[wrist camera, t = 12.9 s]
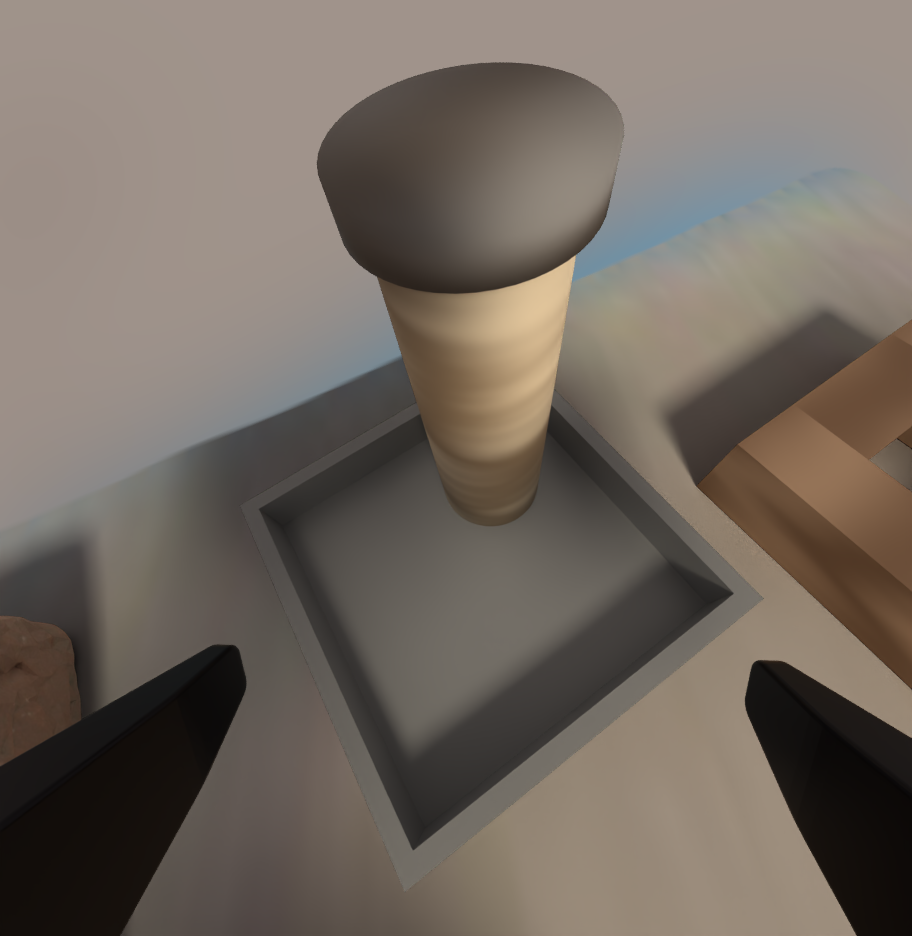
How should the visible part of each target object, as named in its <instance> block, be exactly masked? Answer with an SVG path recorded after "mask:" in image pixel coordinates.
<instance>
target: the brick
mask: <svg viewBox="0 0 912 936" xmlns="http://www.w3.org/2000/svg"><path fill="white" fill-rule="evenodd" d="M80 720H81V700H80V694H79V690H78V687H77V675H76V672H75V668H74V651H73V647H72V643H71V639H70V638H69V637H68V636H67V634H66V633H65V632H64V631H63V630H62V629H60V628H59V627H57V626H56V625H53V624H47V623H41V622H32V621H29V620H27V619H25V618H23V617H14V616H0V766H1V765H3V764H5V763H6V762H8V761H10V760H12V759H13V758H15V757H17V756H19V755H20V754H22V753H24V752H26V751H28V750H29V749H31V748H33V747H35V746H36V745H38V744H40V743H42V742H43V741H45V740H47V739H49V738H50V737H52V736H54V735H56V734H57V733H59V732H61V731H63V730H64V729H66V728H68V727H70V726H71V725H73V724H75V723H77V722H78V721H80Z"/></svg>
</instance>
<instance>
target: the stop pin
mask: <svg viewBox="0 0 912 936" xmlns="http://www.w3.org/2000/svg"><path fill="white" fill-rule="evenodd" d="M623 138H624V124H623V120H622V116H621V113H620V111H619V109H618V107H617V105H616V104H615V103H614V102H613V101H612V99H611V98H610V97H609V96H608V95H607V94H606V93H605V92H604V91H603V90H601V89H600V88H599V87H597V86H596V85H594V84H592V83H591V82H589V81H587V80H585V79H583V78H581V77H579V76H576V75H574V74H571V73H568V72H565V71H562V70H559V69H554V68H550V67H546V66H539V65H533V64H522V63H478V64H469V65H461V66H455V67H449V68H444V69H439V70H435V71H431V72H427V73H424V74H420V75H417V76H414V77H411V78H408V79H405V80H403V81H400V82H397V83H395V84H393V85H390V86H388V87H386V88H384V89H382V90H380V91H378V92H376V93H374V94H372V95H371V96H369V97H367V98H366V99H364V100H362V101H361V102H359V103H358V104H356V105H355V106H354V107H353V108H351V109H350V110H349V111H347V112H346V113H345V114H344V115H343V116H342V117H341V118H340V119H339V120H338V121H337V122H336V123H335V124H334V125H333V127H332V128H331V129H330V131H329V132H328V133H327V135H326V137H325V138H324V140H323V142H322V144H321V147H320V150H319V153H318V160H317V169H318V176H319V178H320V181H321V184H322V187H323V189H324V192H325V195H326V197H327V200H328V203H329V206H330V208H331V211H332V214H333V217H334V219H335V222H336V224H337V228H338V230H339V233H340V236H341V238H342V241H343V244H344V246H345V248H346V249H347V251H348V252H349V254H350V255H351V256H352V257H353V259H354V260H355V261H356V262H357V263H358V264H359V265H360V266H362V267H363V268H364V269H366V270H367V271H369V272H370V273H371V274H373V275H375V276H377V278H378V281H379V284H380V287H381V291H382V294H383V297H384V300H385V303H386V307H387V310H388V313H389V316H390V319H391V322H392V325H393V329H394V332H395V335H396V338H397V341H398V345H399V348H400V351H401V354H402V357H403V361H404V364H405V367H406V370H407V373H408V376H409V380H410V383H411V386H412V389H413V392H414V396H415V399H416V402H417V405H418V408H419V411H420V415H421V418H422V421H423V424H424V427H425V431H426V434H427V437H428V440H429V443H430V446H431V450H432V453H433V456H434V459H435V462H436V465H437V469H438V472H439V475H440V478H441V481H442V485H443V488H444V491H445V494H446V497H447V500H448V502H449V504H450V505H451V507H452V508H453V509H454V511H455V512H456V513H457V514H458V515H459V516H461V517H462V518H464V519H465V520H467V521H469V522H471V523H474V524H477V525H481V526H500V525H504V524H507V523H510V522H512V521H514V520H516V519H518V518H519V517H520V516H522V515H523V514H524V513H525V512H526V511H527V510H528V509H529V507H530V506H531V504H532V503H533V501H534V499H535V496H536V492H537V488H538V482H539V476H540V469H541V463H542V457H543V451H544V445H545V439H546V433H547V427H548V421H549V415H550V409H551V403H552V397H553V391H554V385H555V379H556V373H557V367H558V361H559V355H560V349H561V343H562V337H563V331H564V324H565V318H566V312H567V306H568V300H569V294H570V288H571V282H572V276H573V269H574V264H575V258H576V254H578V253H579V252H580V251H581V250H582V249H583V248H584V247H585V246H586V245H587V244H588V243H589V242H590V241H591V240H592V239H593V238H594V236H595V235H596V234H597V232H598V231H599V229H600V228H601V226H602V224H603V222H604V220H605V217H606V214H607V210H608V206H609V202H610V198H611V193H612V188H613V183H614V179H615V175H616V170H617V165H618V161H619V156H620V151H621V146H622V142H623Z"/></svg>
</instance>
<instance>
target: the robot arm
mask: <svg viewBox="0 0 912 936" xmlns="http://www.w3.org/2000/svg"><path fill="white" fill-rule="evenodd" d="M245 690H246V676H245V672H244V668H243V664H242V660H241V656H240V652H239V649H238V648H237V647H236V646H234V645H219V644H217V645H212V646H210V647H208V648H206V649H205V650H203V651H201V652H199V653H198V654H196V655H194V656H192V657H191V658H189V659H187V660H185V661H184V662H182V663H180V664H178V665H177V666H175V667H173V668H171V669H170V670H168V671H166V672H164V673H163V674H161V675H159V676H157V677H156V678H154V679H152V680H150V681H149V682H147V683H145V684H143V685H142V686H140V687H138V688H136V689H135V690H133V691H131V692H129V693H127V694H126V695H124V696H122V697H120V698H119V699H117V700H115V701H113V702H112V703H110V704H108V705H106V706H105V707H103V708H101V709H99V710H98V711H96V712H94V713H92V714H91V715H89V716H87V717H85V718H84V719H82V720H80V721H78V722H77V723H75V724H73V725H71V726H70V727H68V728H66V729H64V730H63V731H61V732H59V733H57V734H56V735H54V736H52V737H50V738H49V739H47V740H45V741H43V742H42V743H40V744H38V745H36V746H35V747H33V748H31V749H29V750H28V751H26V752H24V753H22V754H20V755H19V756H17V757H15V758H13V759H12V760H10V761H8V762H6V763H5V764H3V765H1V766H0V936H120V935H121V933H122V931H123V930H124V928H125V926H126V924H127V922H128V921H129V919H130V917H131V915H132V913H133V911H134V910H135V908H136V906H137V904H138V902H139V901H140V899H141V897H142V895H143V893H144V892H145V890H146V888H147V886H148V884H149V882H150V881H151V879H152V877H153V875H154V873H155V872H156V870H157V868H158V866H159V864H160V863H161V861H162V859H163V857H164V855H165V853H166V852H167V850H168V848H169V846H170V844H171V843H172V841H173V839H174V837H175V835H176V834H177V832H178V830H179V828H180V826H181V825H182V823H183V821H184V819H185V817H186V815H187V814H188V812H189V810H190V808H191V806H192V805H193V803H194V801H195V799H196V797H197V795H198V793H199V791H200V790H201V788H202V786H203V784H204V782H205V780H206V778H207V776H208V774H209V771H210V769H211V767H212V765H213V763H214V761H215V758H216V756H217V754H218V752H219V749H220V747H221V745H222V743H223V740H224V738H225V736H226V734H227V732H228V729H229V727H230V725H231V723H232V720H233V718H234V716H235V714H236V711H237V709H238V707H239V705H240V703H241V700H242V698H243V696H244V693H245ZM745 707H746V711H747V714H748V717H749V719H750V721H751V724H752V726H753V728H754V731H755V733H756V735H757V737H758V740H759V742H760V744H761V747H762V749H763V751H764V753H765V756H766V758H767V760H768V762H769V765H770V767H771V769H772V772H773V774H774V776H775V778H776V781H777V783H778V785H779V787H780V790H781V792H782V794H783V797H784V799H785V801H786V803H787V805H788V808H789V810H790V812H791V814H792V816H793V818H794V820H795V822H796V824H797V826H798V828H799V830H800V832H801V834H802V836H803V838H804V840H805V842H806V843H807V845H808V847H809V849H810V851H811V853H812V854H813V856H814V858H815V860H816V862H817V864H818V866H819V867H820V869H821V871H822V873H823V875H824V877H825V878H826V880H827V882H828V884H829V886H830V888H831V889H832V891H833V893H834V895H835V897H836V899H837V900H838V902H839V904H840V906H841V908H842V910H843V911H844V913H845V915H846V917H847V919H848V921H849V922H850V924H851V926H852V928H853V930H854V932H855V933H856V935H857V936H912V738H910V737H909V736H907V735H905V734H904V733H902V732H900V731H899V730H897V729H895V728H894V727H892V726H891V725H889V724H887V723H886V722H884V721H882V720H881V719H879V718H877V717H876V716H874V715H872V714H871V713H869V712H867V711H866V710H864V709H862V708H861V707H859V706H857V705H856V704H854V703H852V702H851V701H849V700H847V699H846V698H844V697H842V696H841V695H839V694H837V693H836V692H834V691H832V690H831V689H829V688H827V687H826V686H824V685H822V684H821V683H819V682H817V681H816V680H814V679H812V678H811V677H809V676H807V675H806V674H804V673H802V672H801V671H799V670H798V669H796V668H794V667H793V666H791V665H789V664H787V663H785V662H783V661H769V660H758V661H756V662H754V664H753V665H752V668H751V672H750V677H749V681H748V686H747V691H746V696H745Z"/></svg>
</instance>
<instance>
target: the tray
mask: <svg viewBox="0 0 912 936" xmlns="http://www.w3.org/2000/svg"><path fill="white" fill-rule="evenodd" d="M240 508H241V510H242V512H243V515H244V517H245V519H246V522H247V524H248V526H249V529H250V531H251V533H252V536H253V538H254V540H255V543H256V545H257V548H258V550H259V552H260V555H261V557H262V559H263V562H264V564H265V566H266V569H267V571H268V573H269V576H270V578H271V580H272V583H273V585H274V587H275V590H276V592H277V594H278V597H279V599H280V601H281V604H282V606H283V608H284V611H285V613H286V615H287V618H288V620H289V622H290V625H291V627H292V629H293V632H294V634H295V636H296V639H297V641H298V644H299V646H300V648H301V651H302V653H303V655H304V658H305V660H306V662H307V665H308V667H309V669H310V672H311V674H312V676H313V679H314V681H315V683H316V686H317V688H318V690H319V693H320V695H321V697H322V700H323V702H324V704H325V707H326V709H327V711H328V714H329V716H330V718H331V721H332V723H333V725H334V728H335V730H336V733H337V735H338V737H339V740H340V742H341V744H342V747H343V749H344V751H345V754H346V756H347V758H348V761H349V763H350V765H351V768H352V770H353V772H354V775H355V777H356V779H357V782H358V784H359V786H360V789H361V791H362V793H363V796H364V798H365V800H366V803H367V805H368V807H369V810H370V812H371V814H372V817H373V819H374V821H375V824H376V826H377V829H378V831H379V833H380V836H381V838H382V840H383V843H384V845H385V847H386V850H387V852H388V854H389V857H390V859H391V861H392V864H393V866H394V868H395V871H396V873H397V875H398V878H399V880H400V882H401V885H402V887H403V889H404V892H406V891H407V890H408V889H409V888H411V887H412V886H413V885H414V884H416V883H417V882H418V881H419V880H420V879H422V878H423V877H424V876H425V875H427V874H428V873H429V872H430V871H431V870H433V869H434V868H435V867H436V866H438V865H439V864H440V863H441V862H442V861H444V860H445V859H446V858H447V857H449V856H450V855H451V854H452V853H453V852H455V851H456V850H457V849H458V848H460V847H461V846H462V845H463V844H464V843H466V842H467V841H468V840H469V839H471V838H472V837H473V836H474V835H475V834H477V833H478V832H479V831H480V830H482V829H483V828H484V827H485V826H486V825H488V824H489V823H490V822H491V821H493V820H494V819H495V818H496V817H497V816H499V815H500V814H501V813H502V812H504V811H505V810H506V809H507V808H508V807H510V806H511V805H512V804H513V803H515V802H516V801H517V800H518V799H519V798H521V797H522V796H523V795H524V794H526V793H527V792H528V791H529V790H530V789H532V788H533V787H534V786H535V785H537V784H538V783H539V782H540V781H541V780H543V779H544V778H545V777H546V776H548V775H549V774H550V773H551V772H552V771H554V770H555V769H556V768H557V767H559V766H560V765H561V764H562V763H563V762H565V761H566V760H567V759H568V758H570V757H571V756H572V755H573V754H574V753H576V752H577V751H578V750H579V749H581V748H582V747H583V746H584V745H585V744H587V743H588V742H589V741H590V740H592V739H593V738H594V737H595V736H596V735H598V734H599V733H600V732H601V731H603V730H604V729H605V728H606V727H607V726H609V725H610V724H611V723H612V722H614V721H615V720H616V719H617V718H618V717H620V716H621V715H622V714H623V713H625V712H626V711H627V710H628V709H629V708H631V707H632V706H633V705H634V704H636V703H637V702H638V701H639V700H640V699H642V698H643V697H644V696H645V695H647V694H648V693H649V692H650V691H651V690H653V689H654V688H655V687H656V686H658V685H659V684H660V683H661V682H662V681H664V680H665V679H666V678H667V677H669V676H670V675H671V674H672V673H673V672H675V671H676V670H677V669H678V668H680V667H681V666H682V665H683V664H684V663H686V662H687V661H688V660H689V659H691V658H692V657H693V656H694V655H695V654H697V653H698V652H699V651H700V650H702V649H703V648H704V647H705V646H706V645H708V644H709V643H710V642H711V641H713V640H714V639H715V638H716V637H717V636H719V635H720V634H721V633H722V632H724V631H725V630H726V629H727V628H728V627H730V626H731V625H732V624H733V623H735V622H736V621H737V620H738V619H739V618H741V617H742V616H743V615H744V614H746V613H747V612H748V611H749V610H750V609H752V608H753V607H754V606H755V605H757V604H758V603H759V602H760V601H761V600H763V599H764V598H763V597H762V596H761V595H760V594H759V593H758V592H757V591H756V590H755V589H754V588H753V587H752V586H751V585H750V584H749V583H748V582H747V581H746V580H745V579H744V578H743V577H742V576H741V575H740V574H739V573H738V572H737V571H736V570H735V569H734V568H733V567H732V566H731V565H730V564H729V563H728V562H727V561H726V560H725V559H724V558H723V557H722V556H721V555H720V554H719V553H718V552H717V551H716V550H715V549H714V548H713V547H712V546H711V545H710V544H709V543H708V542H707V541H706V540H705V539H704V538H703V537H702V536H701V535H700V534H699V533H698V532H697V531H696V530H695V529H694V528H693V527H692V526H691V525H690V524H689V523H688V522H687V521H686V520H685V519H684V518H683V517H682V516H681V515H680V514H679V513H678V512H677V511H676V510H675V509H674V508H673V507H672V506H671V505H670V504H669V503H668V502H667V501H666V500H665V499H664V498H663V497H662V496H661V495H660V494H659V493H658V492H657V491H656V490H655V489H654V488H653V487H652V486H651V485H650V484H649V483H648V482H647V481H646V480H645V479H644V478H643V477H642V476H641V475H640V474H639V473H638V472H637V471H636V470H635V469H634V468H633V467H632V466H631V465H630V464H629V463H628V462H627V461H626V460H625V459H624V458H623V457H622V456H621V455H620V454H619V453H618V452H617V451H616V450H615V449H614V448H613V447H612V446H611V445H610V444H609V443H608V442H607V441H606V440H605V439H604V438H603V437H602V436H601V435H600V434H599V433H598V432H597V431H596V430H595V429H594V428H593V427H592V426H591V425H590V424H589V423H588V422H587V421H586V420H585V419H584V418H583V417H582V416H581V415H580V414H579V413H578V412H577V411H576V410H575V409H574V408H573V407H572V406H571V405H570V404H569V403H568V402H567V401H566V400H565V399H564V398H563V397H562V396H561V395H560V394H559V393H558V392H557V391H556V390H555V389H554V391H553V397H552V403H551V409H550V415H549V421H548V427H547V433H546V439H545V445H544V451H543V457H542V463H541V469H540V476H539V482H538V488H537V492H536V496H535V499H534V501H533V503H532V504H531V506H530V507H529V509H528V510H527V511H526V512H525V513H524V514H523V515H522V516H520V517H519V518H518V519H516V520H514V521H512V522H510V523H507V524H504V525H500V526H481V525H477V524H474V523H471V522H469V521H467V520H465V519H464V518H462V517H461V516H459V515H458V514H457V513H456V512H455V511H454V509H453V508H452V507H451V505H450V504H449V502H448V500H447V497H446V494H445V491H444V488H443V485H442V481H441V478H440V475H439V472H438V469H437V465H436V462H435V459H434V456H433V453H432V450H431V446H430V443H429V440H428V437H427V434H426V431H425V427H424V424H423V421H422V418H421V415H420V411H419V408H418V405H417V402H416V403H414V404H413V405H411V406H409V407H408V408H406V409H404V410H402V411H401V412H399V413H397V414H396V415H394V416H392V417H390V418H389V419H387V420H385V421H384V422H382V423H380V424H378V425H377V426H375V427H373V428H372V429H370V430H368V431H366V432H365V433H363V434H361V435H360V436H358V437H356V438H354V439H353V440H351V441H349V442H348V443H346V444H344V445H342V446H341V447H339V448H337V449H336V450H334V451H332V452H330V453H329V454H327V455H325V456H324V457H322V458H320V459H318V460H317V461H315V462H313V463H312V464H310V465H308V466H306V467H305V468H303V469H301V470H300V471H298V472H296V473H294V474H293V475H291V476H289V477H288V478H286V479H284V480H282V481H281V482H279V483H277V484H276V485H274V486H272V487H270V488H269V489H267V490H265V491H264V492H262V493H260V494H258V495H257V496H255V497H253V498H251V499H250V500H248V501H246V502H245V503H243V504H241V505H240Z"/></svg>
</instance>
